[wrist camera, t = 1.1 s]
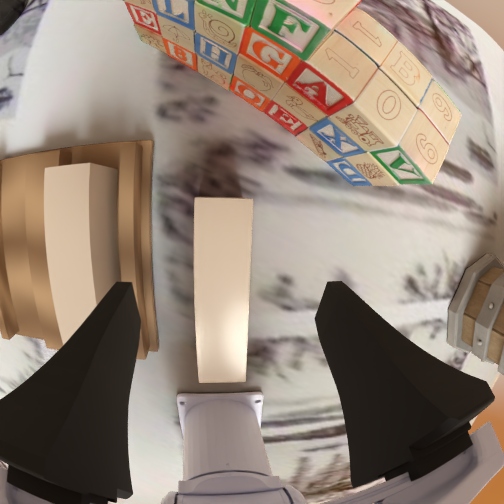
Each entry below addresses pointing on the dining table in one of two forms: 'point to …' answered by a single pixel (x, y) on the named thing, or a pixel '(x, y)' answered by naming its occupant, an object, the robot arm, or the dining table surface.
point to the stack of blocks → (316, 79)
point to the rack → (34, 246)
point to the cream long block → (80, 239)
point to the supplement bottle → (10, 13)
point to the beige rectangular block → (222, 286)
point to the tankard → (479, 312)
